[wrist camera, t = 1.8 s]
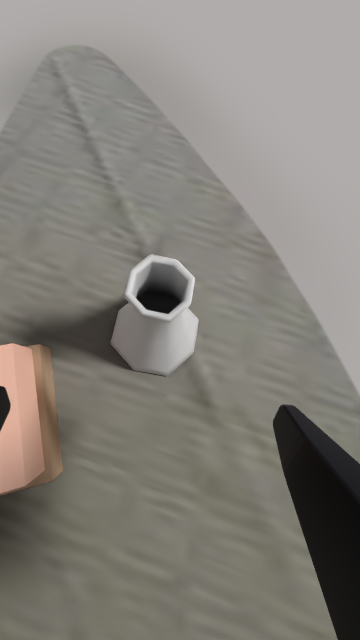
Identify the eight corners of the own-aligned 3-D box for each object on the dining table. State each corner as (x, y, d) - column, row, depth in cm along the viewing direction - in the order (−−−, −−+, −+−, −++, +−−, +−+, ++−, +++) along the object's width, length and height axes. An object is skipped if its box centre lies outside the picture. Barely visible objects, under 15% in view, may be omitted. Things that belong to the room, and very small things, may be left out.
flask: (94, 348, 20) (41, 313, 10) (140, 278, 22) (133, 193, 12) (172, 392, 20) (193, 398, 10) (211, 317, 22) (260, 262, 12)
